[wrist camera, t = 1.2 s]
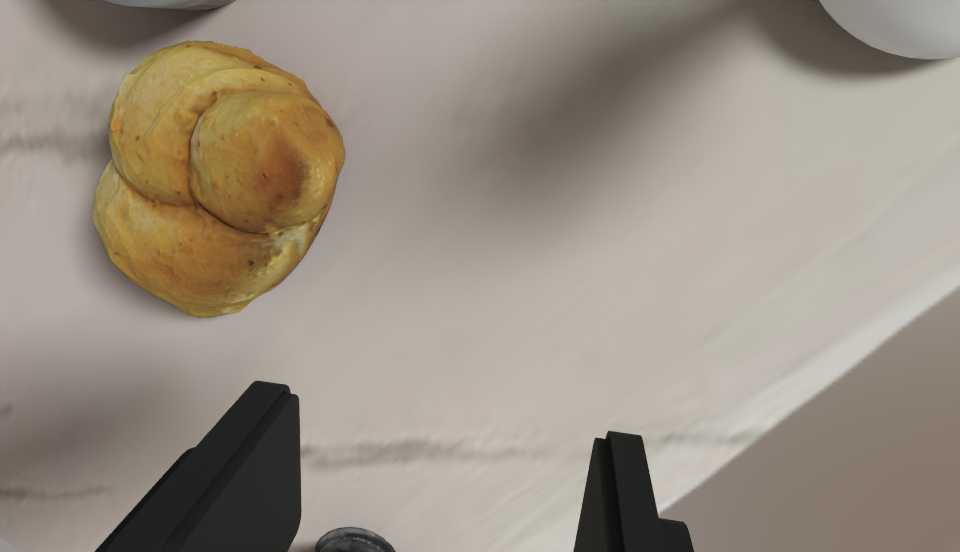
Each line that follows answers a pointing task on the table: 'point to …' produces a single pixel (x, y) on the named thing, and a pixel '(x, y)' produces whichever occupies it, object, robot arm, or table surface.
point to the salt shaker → (353, 541)
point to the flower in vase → (902, 25)
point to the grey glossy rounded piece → (174, 4)
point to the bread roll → (214, 176)
